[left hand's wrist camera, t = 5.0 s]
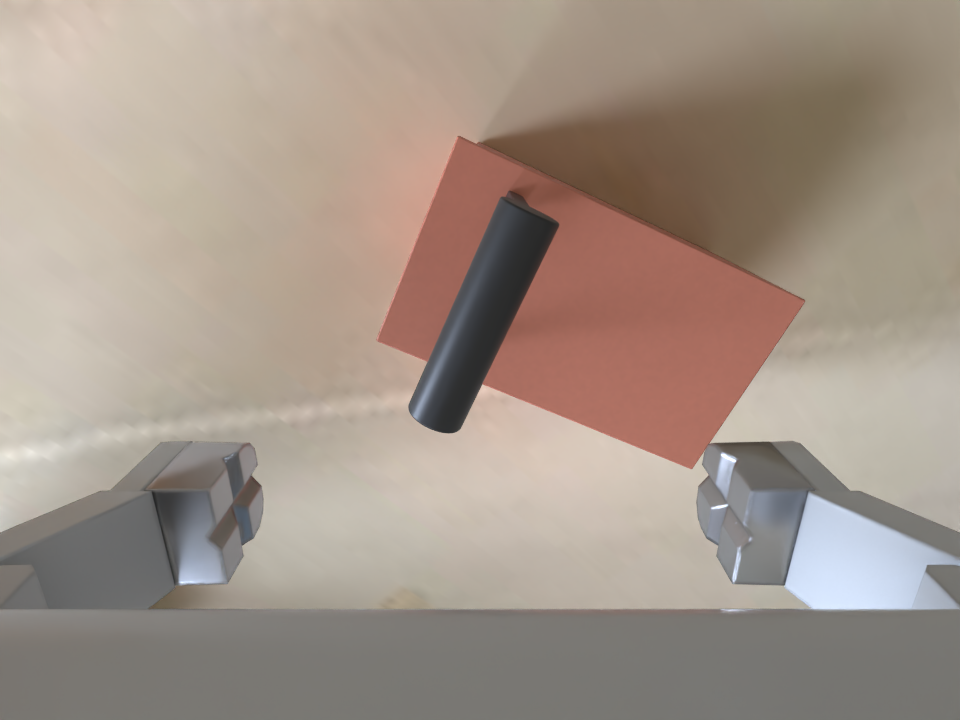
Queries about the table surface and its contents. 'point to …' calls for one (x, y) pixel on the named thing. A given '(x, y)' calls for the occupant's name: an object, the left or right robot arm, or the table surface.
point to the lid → (575, 312)
